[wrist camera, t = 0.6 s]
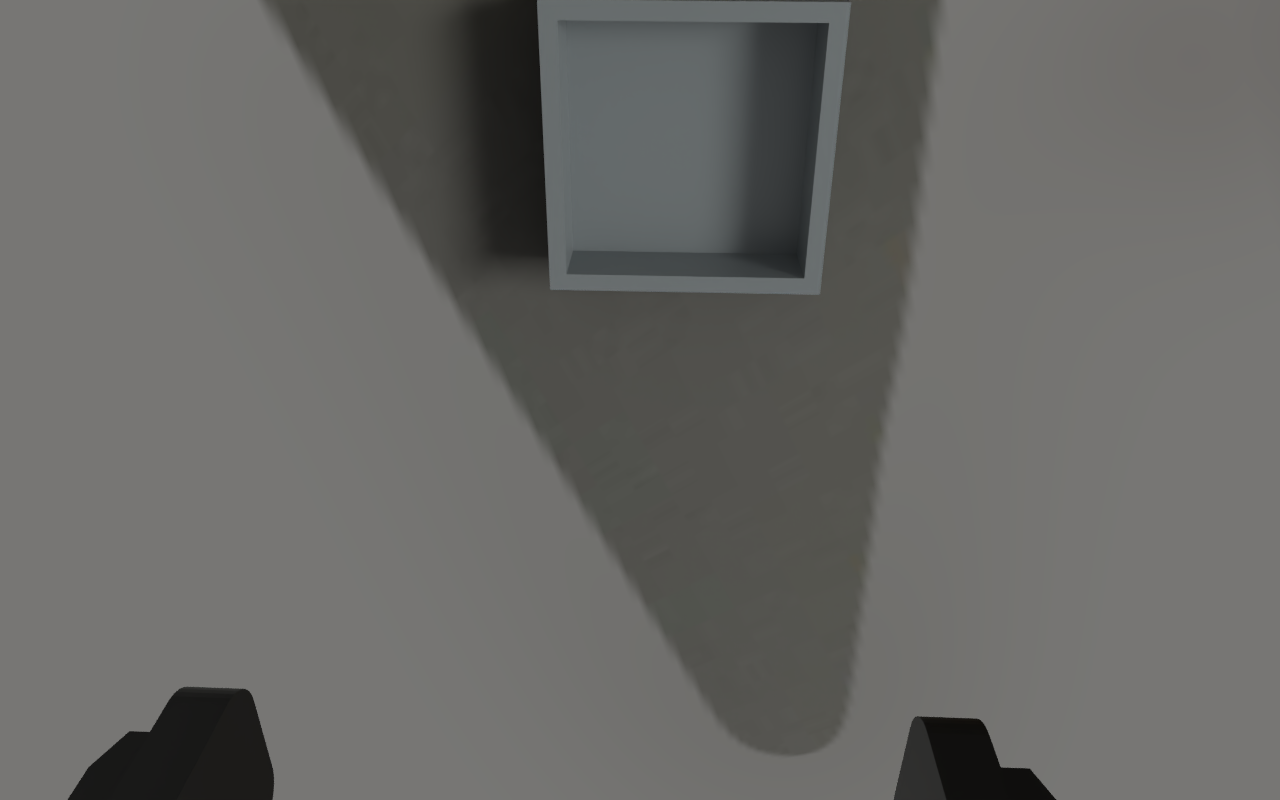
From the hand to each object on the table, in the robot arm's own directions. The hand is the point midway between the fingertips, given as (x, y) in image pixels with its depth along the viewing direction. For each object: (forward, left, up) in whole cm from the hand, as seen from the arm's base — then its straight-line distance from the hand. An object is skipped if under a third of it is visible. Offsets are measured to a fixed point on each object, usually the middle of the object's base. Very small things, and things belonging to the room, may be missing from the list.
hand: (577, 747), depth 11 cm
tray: (-3, +1, -21) cm, 21 cm away
